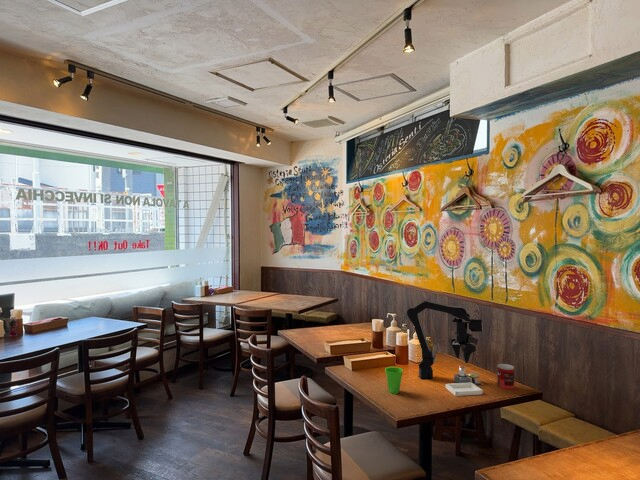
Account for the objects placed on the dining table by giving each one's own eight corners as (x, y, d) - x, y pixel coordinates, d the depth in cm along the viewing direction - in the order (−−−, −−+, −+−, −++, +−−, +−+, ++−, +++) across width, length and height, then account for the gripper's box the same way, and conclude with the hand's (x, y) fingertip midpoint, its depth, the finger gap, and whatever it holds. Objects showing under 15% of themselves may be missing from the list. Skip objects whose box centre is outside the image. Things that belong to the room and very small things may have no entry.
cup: (392, 396, 197) (392, 373, 197) (381, 390, 205) (381, 368, 205) (407, 393, 201) (407, 370, 201) (395, 387, 209) (395, 365, 209)
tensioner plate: (460, 387, 209) (460, 377, 209) (452, 381, 218) (452, 372, 218) (484, 385, 211) (484, 376, 211) (475, 379, 220) (475, 370, 220)
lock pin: (460, 383, 212) (460, 367, 212) (458, 381, 215) (458, 365, 215) (466, 383, 213) (466, 366, 213) (463, 381, 216) (463, 365, 216)
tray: (455, 397, 196) (455, 391, 196) (445, 388, 207) (445, 383, 207) (483, 395, 198) (483, 390, 198) (471, 387, 209) (471, 382, 209)
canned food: (500, 383, 214) (500, 362, 214) (516, 387, 208) (516, 366, 208) (494, 387, 208) (494, 366, 208) (511, 391, 203) (511, 369, 203)
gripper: (485, 334, 206) (486, 365, 206) (467, 326, 225) (467, 354, 225) (465, 335, 205) (465, 366, 205) (447, 327, 223) (448, 355, 223)
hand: (462, 360), depth 214 cm, fingers open, 9 cm apart
